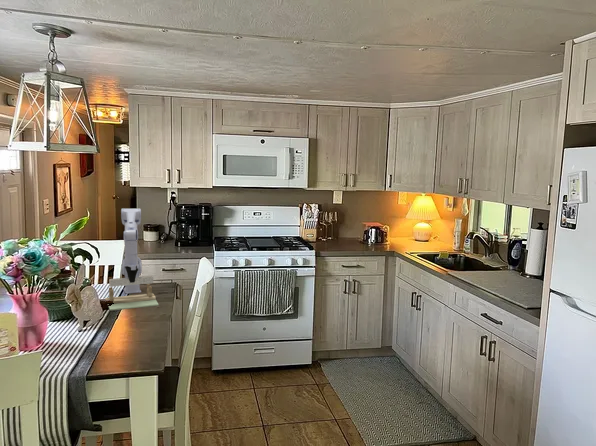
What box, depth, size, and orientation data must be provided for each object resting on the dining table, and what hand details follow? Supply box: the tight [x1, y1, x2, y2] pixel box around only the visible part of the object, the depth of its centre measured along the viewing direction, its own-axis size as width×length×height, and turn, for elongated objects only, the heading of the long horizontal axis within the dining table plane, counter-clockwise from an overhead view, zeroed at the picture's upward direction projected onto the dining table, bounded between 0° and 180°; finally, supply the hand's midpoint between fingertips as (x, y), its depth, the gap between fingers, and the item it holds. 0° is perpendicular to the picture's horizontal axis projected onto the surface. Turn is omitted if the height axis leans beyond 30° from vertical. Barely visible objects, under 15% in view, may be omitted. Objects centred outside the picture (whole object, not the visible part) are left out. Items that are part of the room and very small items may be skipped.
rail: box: [108, 275, 154, 288], centre depth 232 cm, size 20×3×3 cm, turn 117°
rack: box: [104, 283, 157, 304], centre depth 237 cm, size 7×23×6 cm, turn 117°
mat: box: [108, 299, 159, 312], centre depth 229 cm, size 8×22×1 cm, turn 117°
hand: (131, 281), depth 232 cm, fingers closed on rail, 3 cm apart
